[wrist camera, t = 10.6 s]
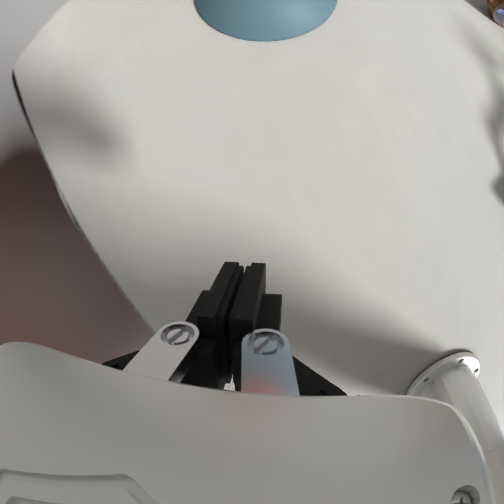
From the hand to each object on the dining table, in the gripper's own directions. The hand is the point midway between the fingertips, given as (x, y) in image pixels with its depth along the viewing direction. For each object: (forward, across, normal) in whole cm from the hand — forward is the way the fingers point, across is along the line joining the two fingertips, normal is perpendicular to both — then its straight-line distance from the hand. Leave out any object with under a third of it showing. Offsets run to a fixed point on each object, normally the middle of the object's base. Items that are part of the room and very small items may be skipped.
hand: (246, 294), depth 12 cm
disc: (+13, 0, -22) cm, 26 cm away
